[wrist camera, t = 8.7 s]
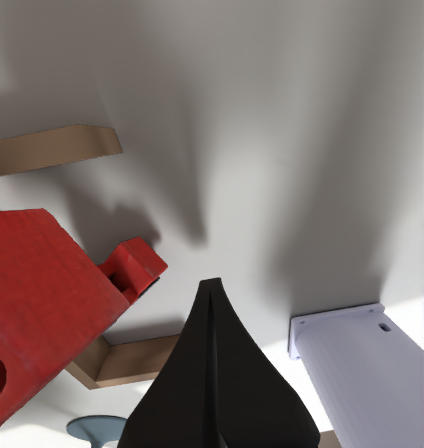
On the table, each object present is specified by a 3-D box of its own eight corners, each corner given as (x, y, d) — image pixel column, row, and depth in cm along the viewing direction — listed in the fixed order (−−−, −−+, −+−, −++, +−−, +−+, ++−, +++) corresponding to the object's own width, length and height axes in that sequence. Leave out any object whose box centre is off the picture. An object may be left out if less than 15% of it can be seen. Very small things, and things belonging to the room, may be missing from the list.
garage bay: (113, 128, 9) (77, 124, 6) (194, 338, 18) (194, 372, 16) (-62, 164, 9) (-166, 173, 7) (105, 353, 19) (89, 389, 16)
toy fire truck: (79, 305, 15) (-197, 488, 6) (174, 196, 11) (-210, 214, 2) (104, 333, 15) (-135, 563, 6) (209, 232, 11) (-10, 442, 2)
